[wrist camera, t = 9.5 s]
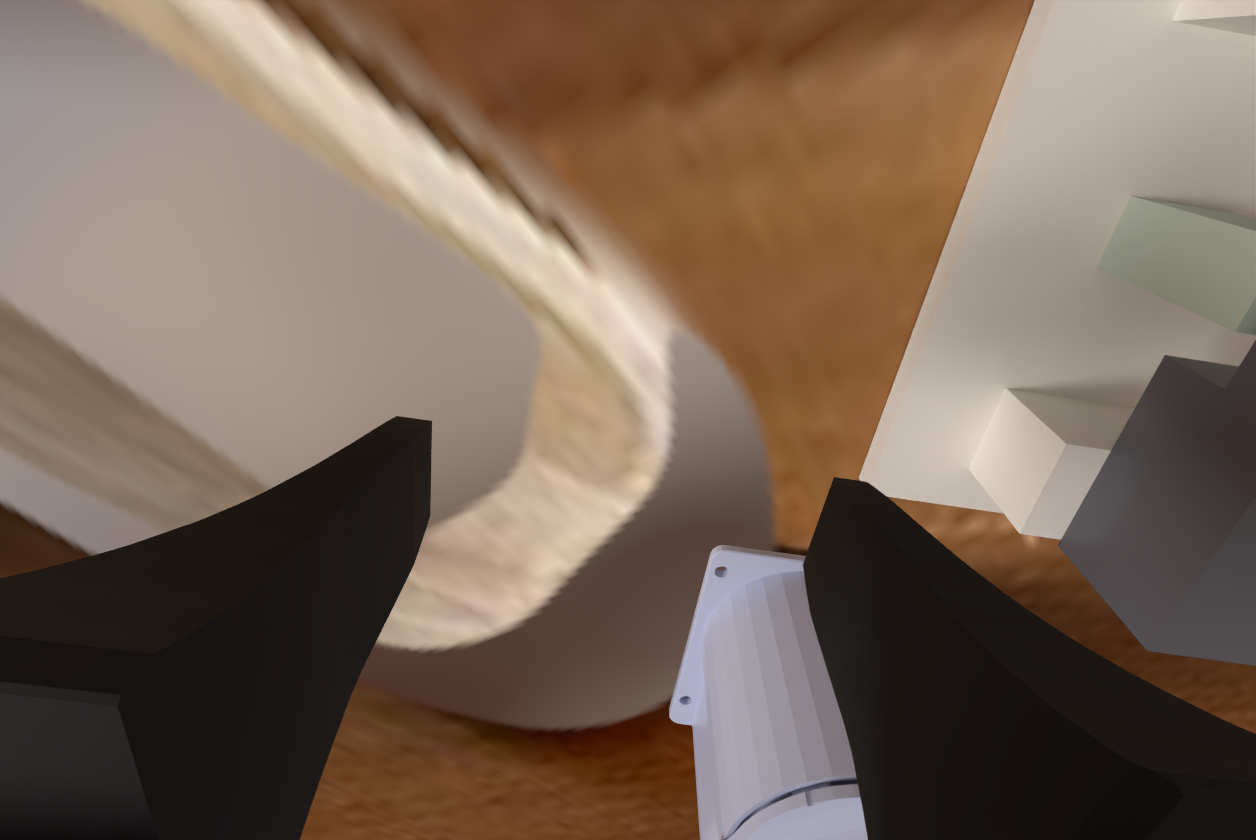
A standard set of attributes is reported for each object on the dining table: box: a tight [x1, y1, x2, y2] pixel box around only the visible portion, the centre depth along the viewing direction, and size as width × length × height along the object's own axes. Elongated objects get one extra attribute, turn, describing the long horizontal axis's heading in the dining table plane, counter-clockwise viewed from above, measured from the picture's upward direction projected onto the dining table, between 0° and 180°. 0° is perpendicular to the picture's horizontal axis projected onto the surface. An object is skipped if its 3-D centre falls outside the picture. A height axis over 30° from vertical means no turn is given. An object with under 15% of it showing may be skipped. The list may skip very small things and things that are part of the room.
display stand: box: [859, 0, 1256, 540], centre depth 17 cm, size 19×11×6 cm, turn 171°
